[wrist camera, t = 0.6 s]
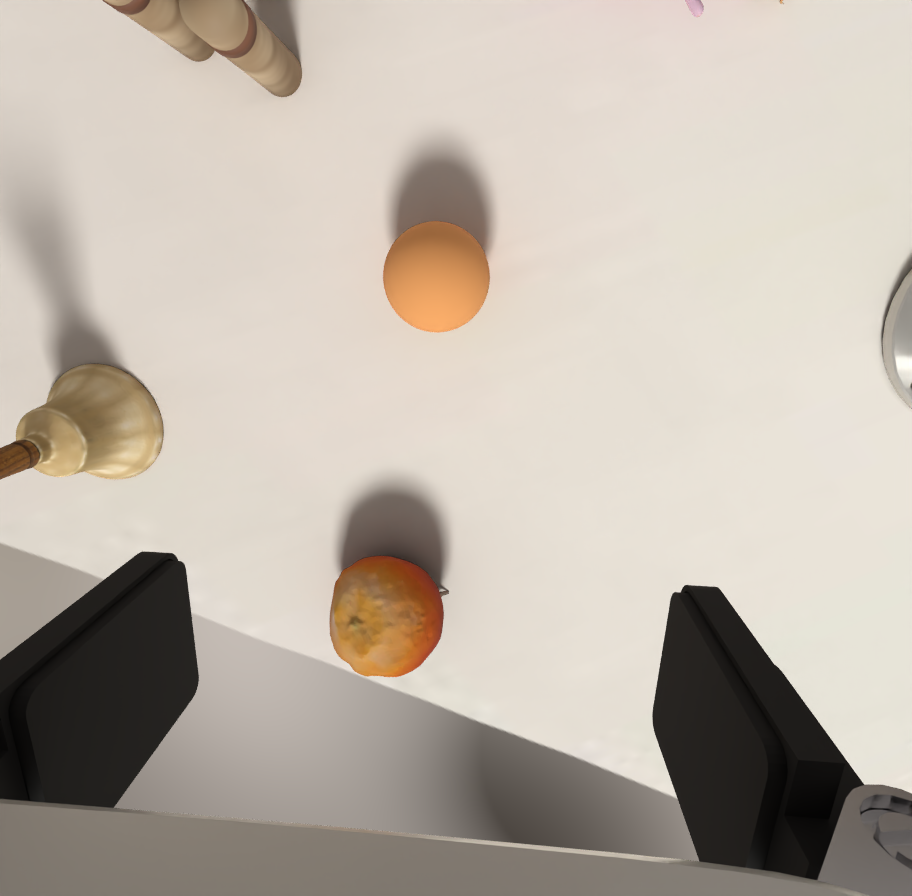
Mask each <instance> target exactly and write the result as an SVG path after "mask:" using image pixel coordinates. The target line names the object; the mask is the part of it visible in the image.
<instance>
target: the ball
mask: <svg viewBox="0 0 912 896" xmlns="http://www.w3.org/2000/svg"><path fill="white" fill-rule="evenodd" d="M383 281H384V288H385V292H386V295H387V298H388V300H389V302H390V304H391V306H392V308H393V309H394V310H395V312H396V313H397V314H398V315H399V316H400V317H401V318H402V319H403V320H404V321H405V322H407V323H408V324H410V325H411V326H413V327H415V328H418V329H420V330H424V331H428V332H445V331H450V330H453V329H456V328H459V327H460V326H462V325H464V324H466V323H467V322H468V321H470V320H471V319H472V318H473V317H474V316H475V315H476V314H477V312H478V311H479V310H480V308H481V307H482V305H483V303H484V301H485V299H486V296H487V293H488V289H489V281H490V274H489V266H488V261H487V259H486V256H485V253H484V251H483V249H482V248H481V246H480V245H479V243H478V242H477V241H476V239H475V238H474V237H473V236H472V235H471V234H469V233H468V232H467V231H465V230H464V229H462V228H461V227H459V226H456V225H454V224H451V223H447V222H441V221H431V222H424V223H421V224H418V225H415V226H413V227H411V228H410V229H408V230H406V231H405V232H404V233H403V234H401V235H400V236H399V237H398V238H397V240H396V241H395V242H394V244H393V245H392V247H391V248H390V250H389V252H388V255H387V257H386V260H385V264H384V271H383Z"/></svg>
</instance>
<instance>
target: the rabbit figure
mask: <svg viewBox="0 0 912 896" xmlns="http://www.w3.org/2000/svg"><path fill="white" fill-rule="evenodd" d="M685 1H686V3H687V5H688V7H689V9H690V11H691V12H692V14H693V15H694V16H695V17H699V16H700V15H701V14H702V13H703V10H704V6H703V4H702V2H701V1H700V0H685ZM782 1H783V0H780V3H781V4H784V3H783V2H782Z"/></svg>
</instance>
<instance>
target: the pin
mask: <svg viewBox="0 0 912 896" xmlns="http://www.w3.org/2000/svg"><path fill="white" fill-rule="evenodd" d="M103 1H104V2H106V3H107V4H108V5H110V6H111V7H113V8H114V9H116V10H117V11H119V12H121V13H123V14H125V15H126V16H128V17H129V18H131V19H132V20H134V21H135V22H137V23H138V24H139V25H141V26H142V27H144V28H145V29H147V30H148V31H150V32H151V33H153V34H154V35H155V36H157V37H158V38H160V39H161V40H163V41H164V42H166V43H167V44H169V45H170V46H171V47H173V48H174V49H176V50H177V51H179V52H180V53H182V54H183V55H184V56H186V57H187V58H189V59H191V60H193V61H204V60H207V59H208V58H210V57H211V56H212V54H213V53H214V51H215V50H214V49H213V48H211V47H210V46H209V45H208V44H207V43H206V42H205V41H204V40H203V39H202V38H200V37H199V36H198V35H197V34H195V33H194V32H193V31H192V30H190V28H189V27H188V26H187V25H186V23H185V22H184V20H183V18H182V15H181V12H180V8H179V0H103Z"/></svg>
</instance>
